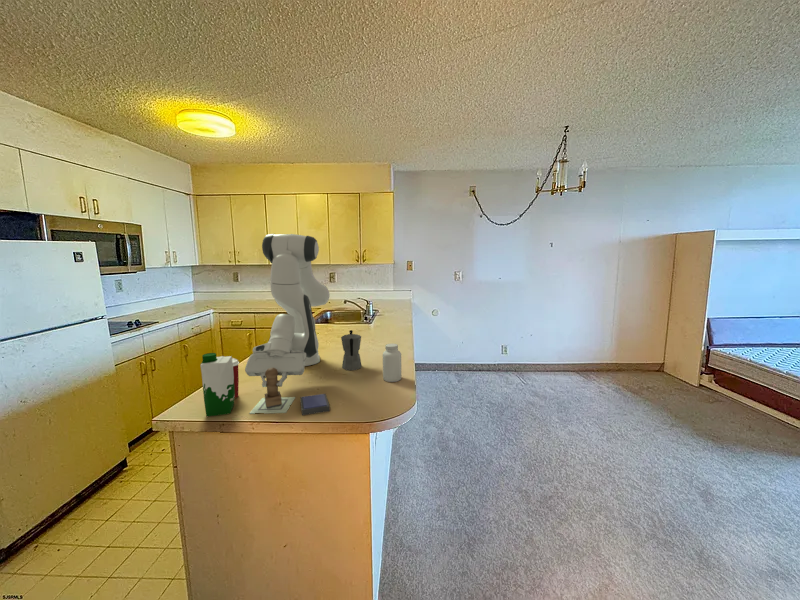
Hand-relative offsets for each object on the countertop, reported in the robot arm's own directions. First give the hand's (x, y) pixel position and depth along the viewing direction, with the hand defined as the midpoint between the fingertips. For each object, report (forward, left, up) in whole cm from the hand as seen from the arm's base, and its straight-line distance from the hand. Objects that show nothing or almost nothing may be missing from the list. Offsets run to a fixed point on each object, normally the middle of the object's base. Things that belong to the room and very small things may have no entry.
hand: (271, 386), depth 115 cm
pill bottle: (+22, +44, -7) cm, 49 cm away
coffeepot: (-2, +46, -7) cm, 46 cm away
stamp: (0, 0, -7) cm, 7 cm away
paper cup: (-20, -3, -7) cm, 22 cm away
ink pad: (+13, +8, -7) cm, 16 cm away
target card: (0, +1, -7) cm, 7 cm away
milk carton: (-12, -11, -7) cm, 18 cm away
